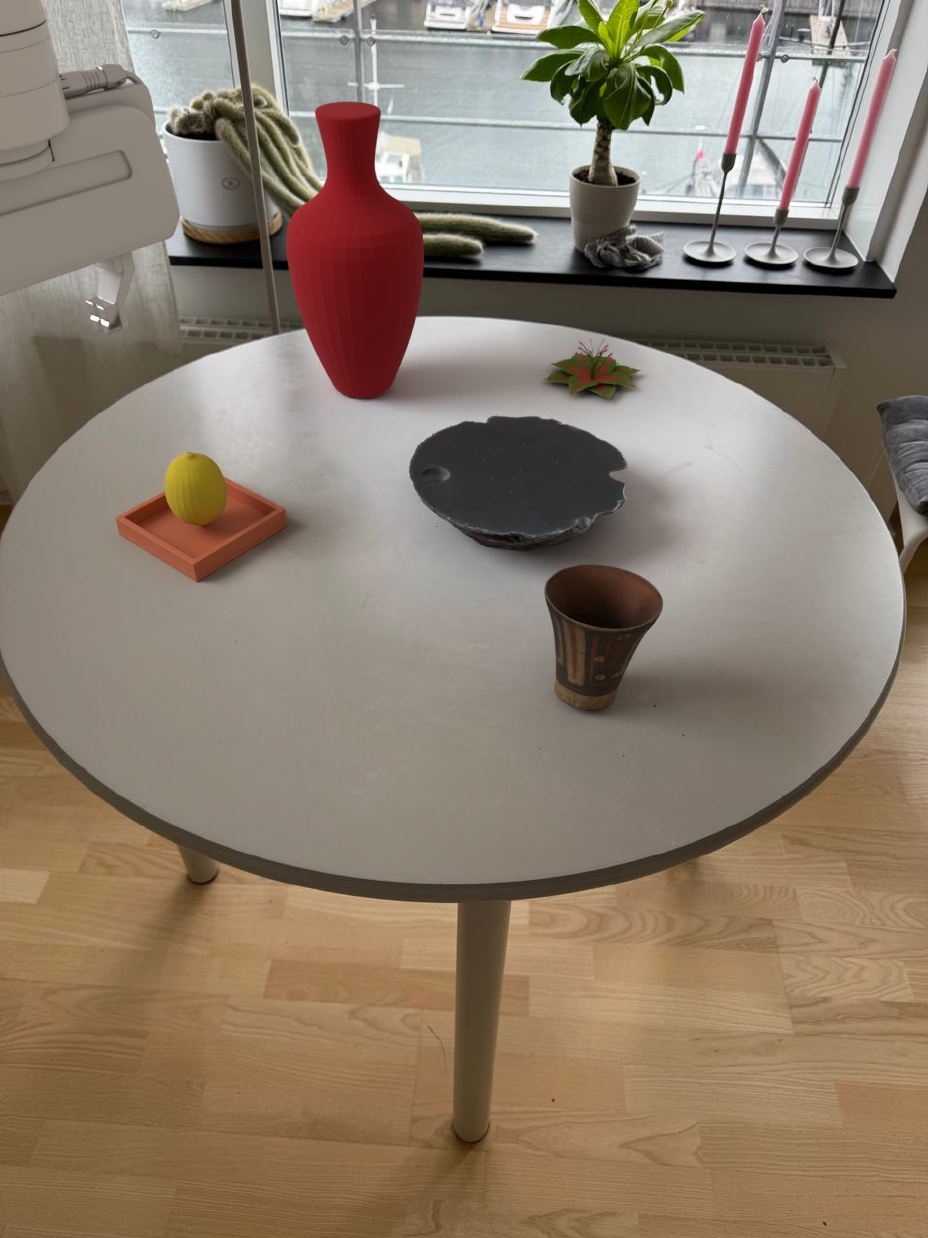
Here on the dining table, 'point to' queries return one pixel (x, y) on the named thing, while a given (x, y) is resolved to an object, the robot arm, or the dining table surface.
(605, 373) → the lily flower
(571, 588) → the cup
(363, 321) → the vase
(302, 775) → the dining table surface
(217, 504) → the lemon
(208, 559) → the tray
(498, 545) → the board
